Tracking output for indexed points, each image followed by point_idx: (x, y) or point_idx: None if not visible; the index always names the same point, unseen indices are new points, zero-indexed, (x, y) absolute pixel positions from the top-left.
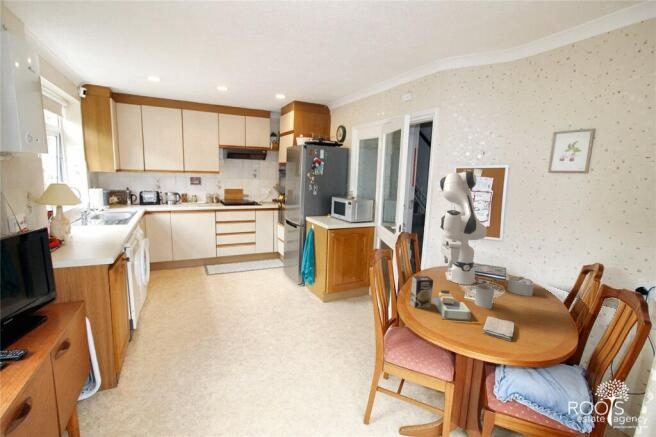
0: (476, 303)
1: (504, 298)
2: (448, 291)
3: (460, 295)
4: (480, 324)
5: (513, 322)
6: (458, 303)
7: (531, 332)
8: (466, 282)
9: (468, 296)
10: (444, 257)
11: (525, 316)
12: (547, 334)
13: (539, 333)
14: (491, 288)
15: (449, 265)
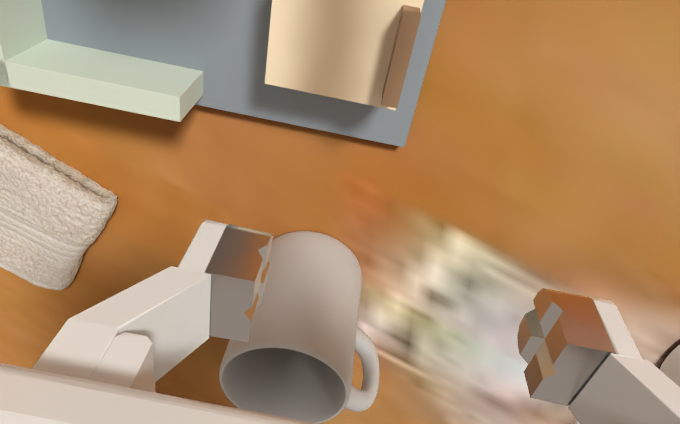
0: (297, 243)
1: (409, 418)
2: (384, 92)
3: (497, 226)
4: (19, 108)
5: (48, 287)
6: (316, 122)
7: (22, 308)
8: (676, 373)
9: (469, 268)
10: (668, 412)
11: (196, 379)
12: (28, 351)
13: (25, 331)
14: (295, 411)
15: (186, 257)
